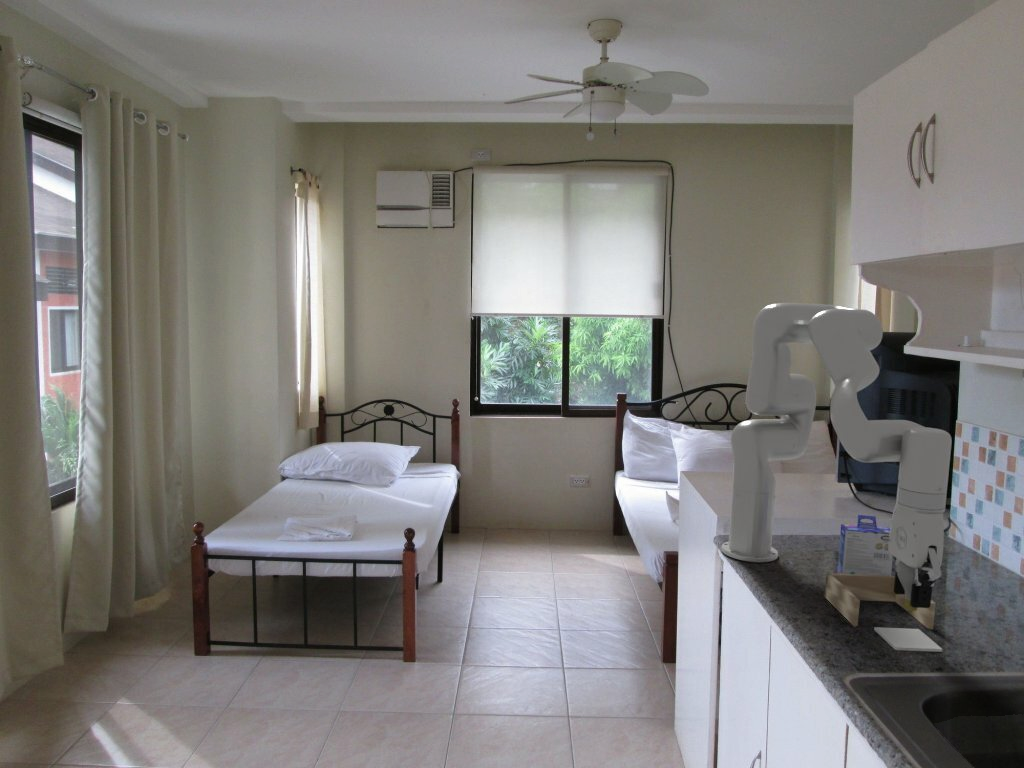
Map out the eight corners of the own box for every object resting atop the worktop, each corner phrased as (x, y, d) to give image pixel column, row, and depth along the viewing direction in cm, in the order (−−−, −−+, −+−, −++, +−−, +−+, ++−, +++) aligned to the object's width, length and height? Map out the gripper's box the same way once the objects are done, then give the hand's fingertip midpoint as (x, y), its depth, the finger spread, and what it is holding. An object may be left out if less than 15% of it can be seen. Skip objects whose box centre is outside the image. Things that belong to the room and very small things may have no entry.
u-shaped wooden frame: (824, 597, 156) (826, 573, 155) (897, 600, 156) (899, 576, 155) (853, 626, 142) (855, 600, 142) (933, 629, 142) (935, 603, 142)
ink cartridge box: (884, 582, 166) (890, 516, 164) (891, 591, 160) (898, 523, 158) (835, 577, 168) (840, 512, 166) (840, 586, 162) (846, 519, 160)
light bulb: (912, 619, 133) (918, 563, 132) (886, 607, 138) (891, 553, 137) (935, 615, 135) (940, 559, 134) (908, 603, 140) (913, 549, 139)
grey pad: (874, 629, 141) (874, 627, 141) (918, 631, 141) (918, 628, 141) (895, 650, 133) (895, 647, 133) (942, 651, 133) (942, 649, 133)
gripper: (876, 486, 143) (868, 581, 145) (924, 512, 126) (914, 619, 128) (917, 487, 143) (908, 583, 145) (971, 513, 126) (960, 621, 128)
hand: (911, 599), depth 136 cm, fingers closed on light bulb, 5 cm apart
